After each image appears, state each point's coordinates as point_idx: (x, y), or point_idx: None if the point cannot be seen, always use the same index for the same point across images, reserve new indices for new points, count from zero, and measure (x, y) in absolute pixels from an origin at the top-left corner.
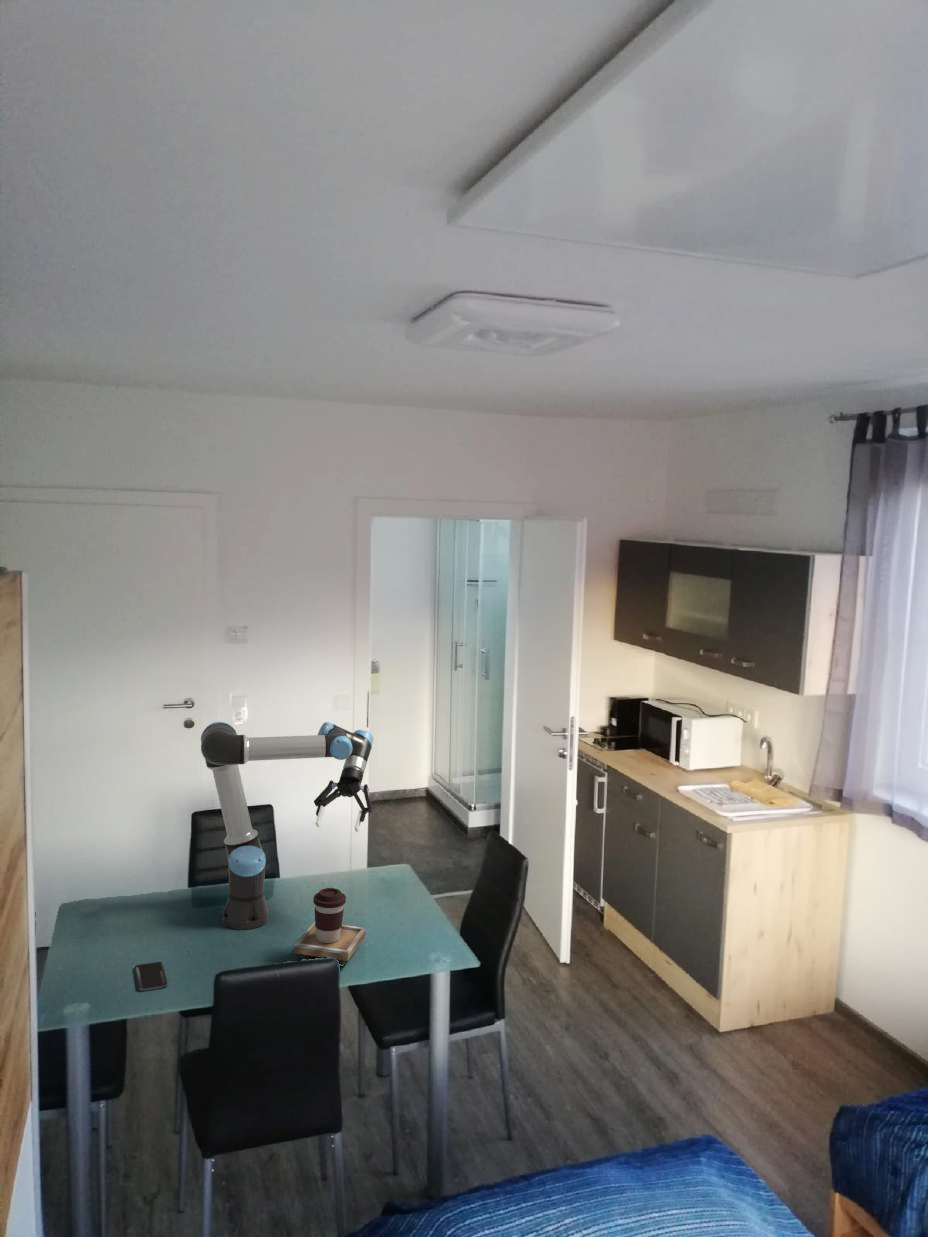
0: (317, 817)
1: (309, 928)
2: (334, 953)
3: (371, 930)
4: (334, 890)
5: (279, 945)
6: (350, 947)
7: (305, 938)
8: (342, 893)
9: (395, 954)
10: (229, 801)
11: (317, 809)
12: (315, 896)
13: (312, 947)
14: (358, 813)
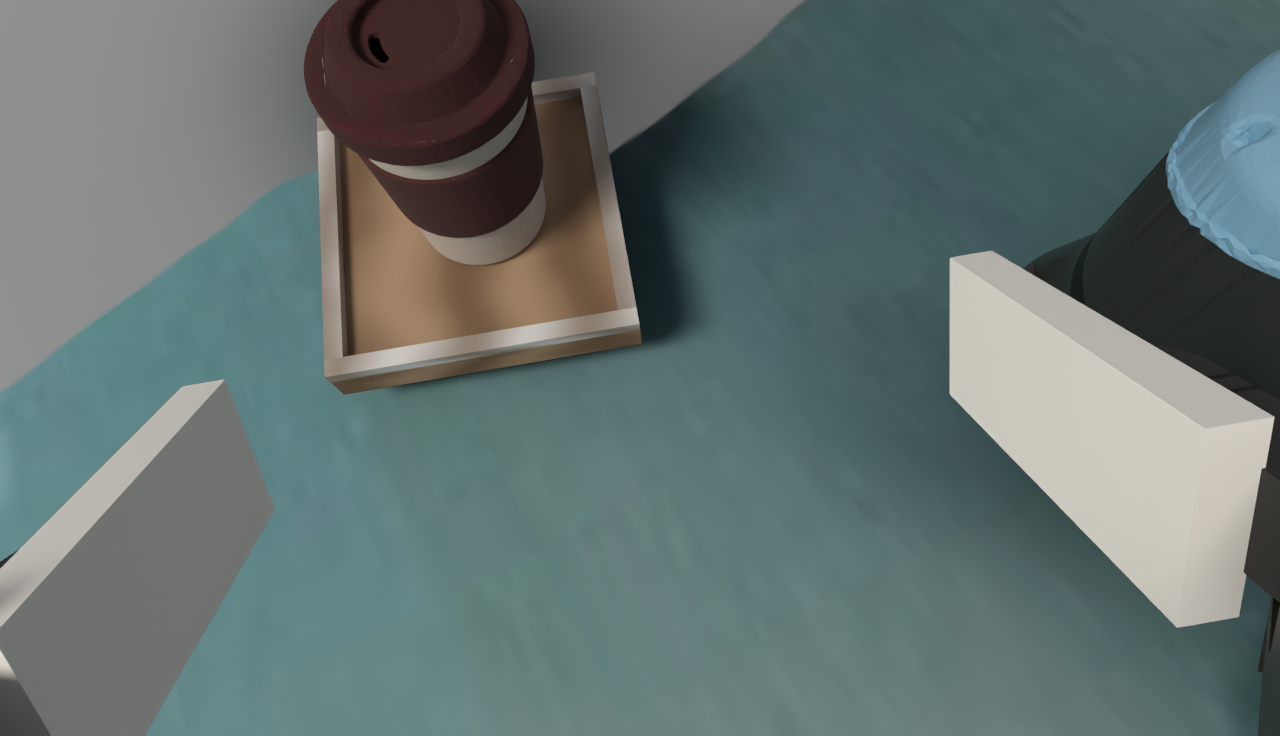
0: (1043, 284)
1: (617, 232)
2: None
3: (396, 595)
4: (393, 72)
5: (757, 226)
6: (323, 159)
7: (591, 165)
8: (354, 131)
9: None
10: None
11: (1265, 399)
12: (507, 10)
13: None
14: (52, 559)
